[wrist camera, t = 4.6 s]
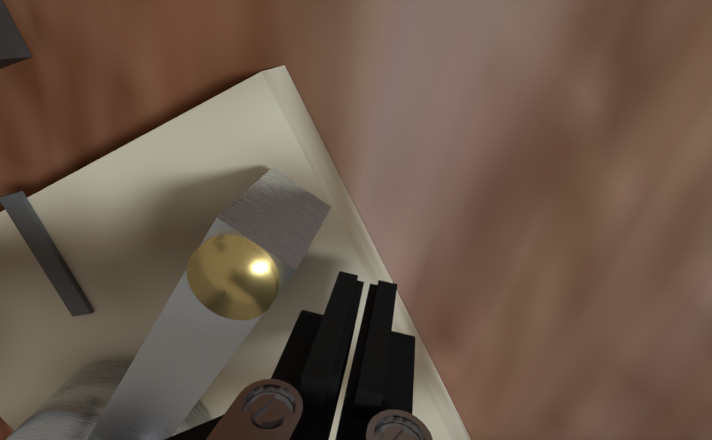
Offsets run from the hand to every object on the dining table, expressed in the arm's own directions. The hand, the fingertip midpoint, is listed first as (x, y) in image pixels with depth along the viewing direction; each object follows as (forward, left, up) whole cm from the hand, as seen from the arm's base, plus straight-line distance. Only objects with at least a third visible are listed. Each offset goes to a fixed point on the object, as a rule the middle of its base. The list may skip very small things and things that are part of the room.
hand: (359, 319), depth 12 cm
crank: (0, +8, -1) cm, 8 cm away
